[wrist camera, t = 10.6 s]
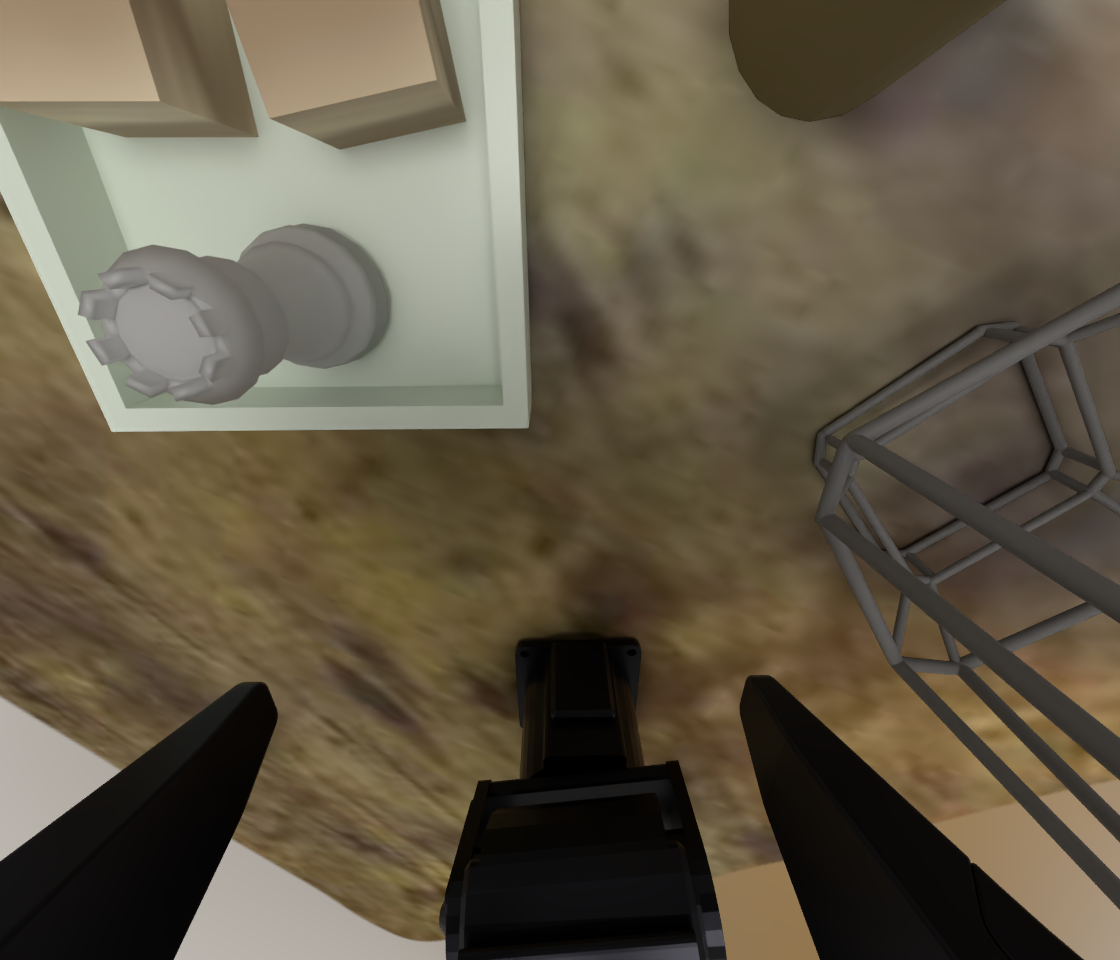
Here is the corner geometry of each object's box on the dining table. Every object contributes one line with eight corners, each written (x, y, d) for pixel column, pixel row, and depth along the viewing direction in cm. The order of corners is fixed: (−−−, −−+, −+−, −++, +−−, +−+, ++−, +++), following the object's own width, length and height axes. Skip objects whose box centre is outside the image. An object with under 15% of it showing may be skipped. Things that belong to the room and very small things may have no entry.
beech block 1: (259, 137, 14) (160, 101, 11) (125, 137, 14) (-19, 101, 11) (214, -48, 12) (76, -167, 9) (61, -48, 12) (-138, -167, 9)
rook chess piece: (348, 386, 18) (209, 483, 11) (236, 300, 16) (-12, 344, 9) (418, 294, 16) (312, 334, 9) (301, 190, 15) (67, 140, 8)
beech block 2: (466, 121, 14) (436, 79, 11) (339, 149, 14) (269, 118, 11) (425, -65, 12) (373, -191, 9) (282, -28, 13) (174, -136, 9)
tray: (532, 400, 19) (528, 428, 16) (178, 403, 18) (111, 431, 16) (516, -114, 12) (505, -218, 10) (-23, -116, 12) (-192, -223, 9)
